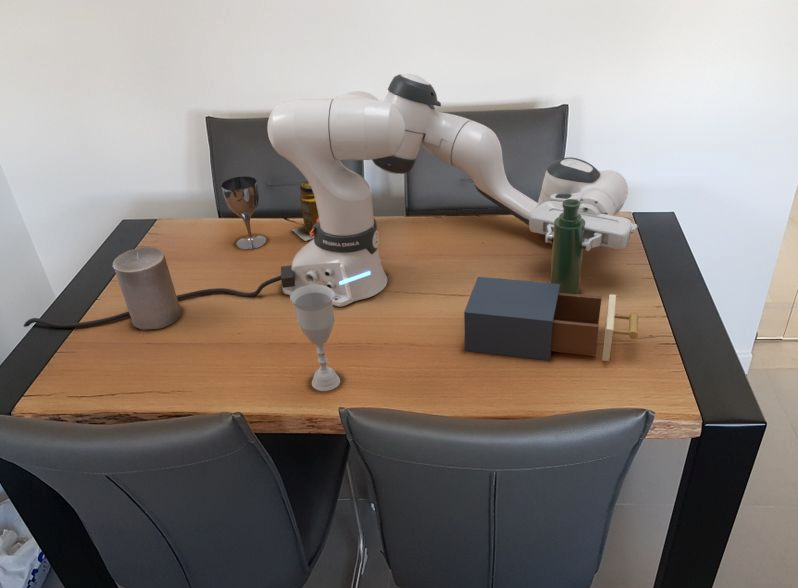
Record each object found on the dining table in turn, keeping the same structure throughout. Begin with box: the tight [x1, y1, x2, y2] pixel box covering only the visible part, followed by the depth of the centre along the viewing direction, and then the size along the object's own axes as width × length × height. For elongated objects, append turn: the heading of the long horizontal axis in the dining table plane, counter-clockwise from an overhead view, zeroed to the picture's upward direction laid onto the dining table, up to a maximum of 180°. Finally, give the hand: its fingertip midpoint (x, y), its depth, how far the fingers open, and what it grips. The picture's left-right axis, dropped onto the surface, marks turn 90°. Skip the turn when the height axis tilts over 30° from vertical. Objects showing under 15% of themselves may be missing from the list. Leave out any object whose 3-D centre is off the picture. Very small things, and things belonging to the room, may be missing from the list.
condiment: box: [291, 180, 319, 242], centre depth 171 cm, size 7×8×12 cm
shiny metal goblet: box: [221, 175, 267, 250], centre depth 167 cm, size 8×8×15 cm
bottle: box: [549, 199, 586, 295], centre depth 140 cm, size 6×6×20 cm
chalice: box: [289, 285, 341, 392], centre depth 121 cm, size 7×7×18 cm
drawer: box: [551, 293, 639, 362], centre depth 129 cm, size 19×11×7 cm, turn 75°
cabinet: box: [463, 276, 560, 361], centre depth 132 cm, size 16×13×9 cm
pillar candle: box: [112, 246, 182, 331], centre depth 141 cm, size 10×10×15 cm
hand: (566, 243), depth 138 cm, fingers closed on bottle, 6 cm apart
